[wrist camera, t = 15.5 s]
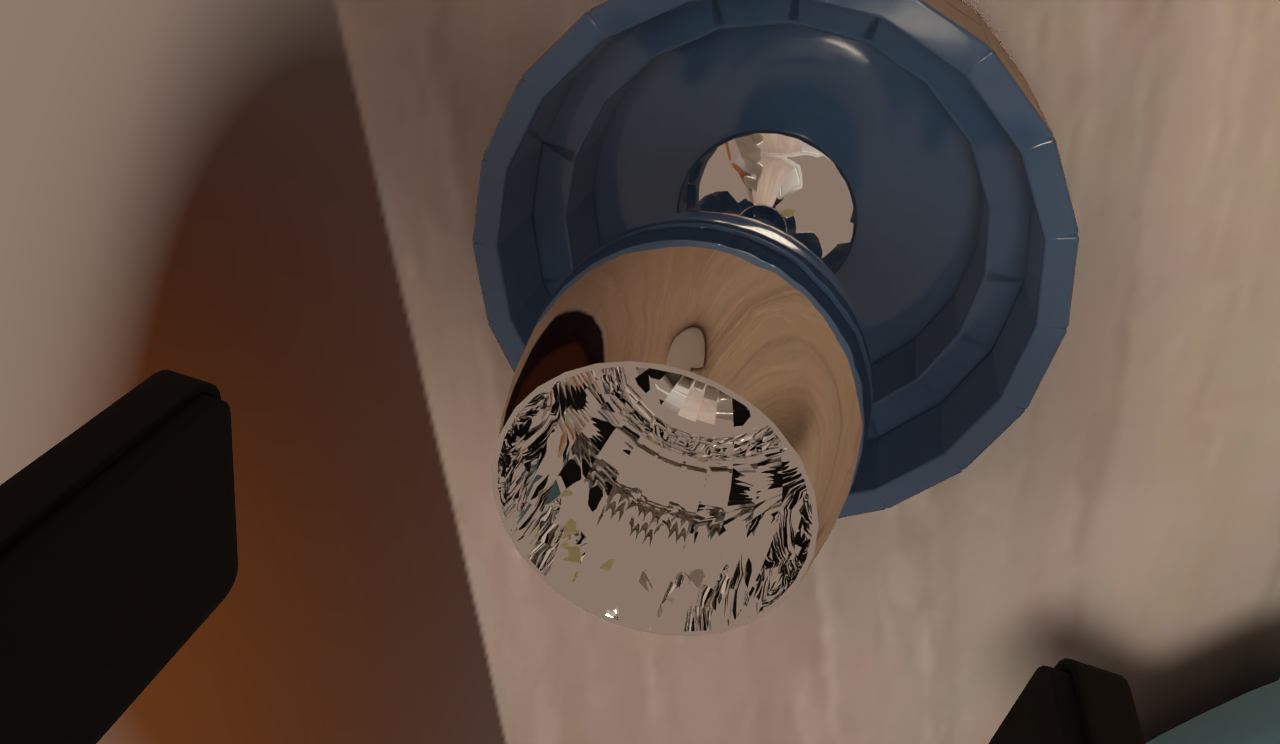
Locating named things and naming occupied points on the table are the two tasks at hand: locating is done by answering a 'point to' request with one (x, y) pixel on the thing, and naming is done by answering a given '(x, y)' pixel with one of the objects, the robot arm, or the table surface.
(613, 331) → the wineglass
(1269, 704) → the teapot
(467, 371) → the table surface
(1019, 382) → the bowl
